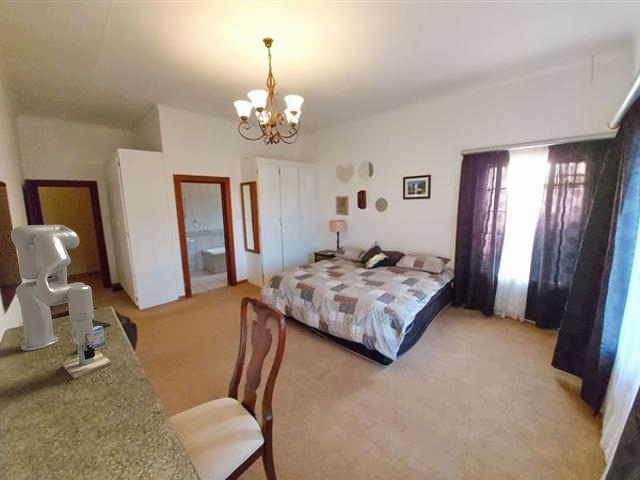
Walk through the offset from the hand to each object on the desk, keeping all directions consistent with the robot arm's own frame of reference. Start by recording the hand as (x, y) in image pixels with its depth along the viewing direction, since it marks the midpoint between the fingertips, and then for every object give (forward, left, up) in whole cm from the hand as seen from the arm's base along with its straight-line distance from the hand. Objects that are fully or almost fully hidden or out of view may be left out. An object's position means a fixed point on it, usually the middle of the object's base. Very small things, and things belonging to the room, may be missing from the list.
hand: (86, 354), depth 112 cm
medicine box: (-18, +7, -5) cm, 20 cm away
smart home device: (-48, +14, -5) cm, 50 cm away
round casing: (0, 0, -3) cm, 3 cm away
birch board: (0, 0, -5) cm, 5 cm away
